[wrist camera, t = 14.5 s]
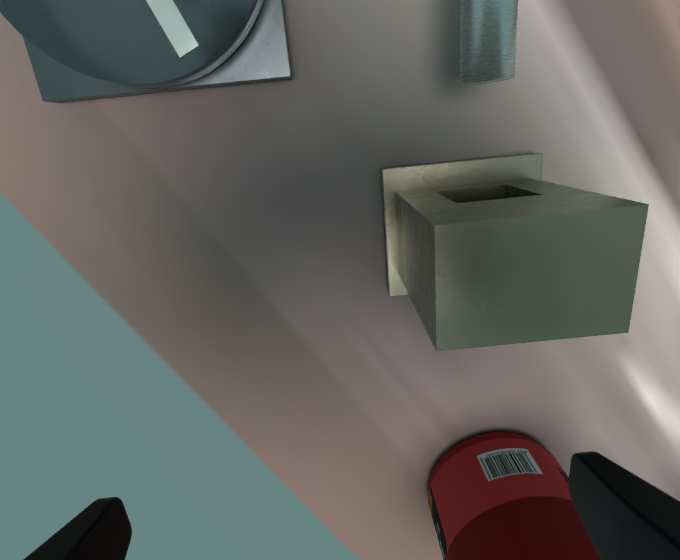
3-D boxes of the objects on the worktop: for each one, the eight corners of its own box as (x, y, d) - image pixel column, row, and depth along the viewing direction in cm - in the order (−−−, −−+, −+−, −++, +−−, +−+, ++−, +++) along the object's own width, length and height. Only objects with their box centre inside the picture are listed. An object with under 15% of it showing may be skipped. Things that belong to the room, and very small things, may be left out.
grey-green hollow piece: (533, 152, 19) (673, 165, 11) (526, 276, 21) (639, 359, 13) (380, 168, 19) (415, 191, 11) (387, 290, 21) (421, 379, 13)
